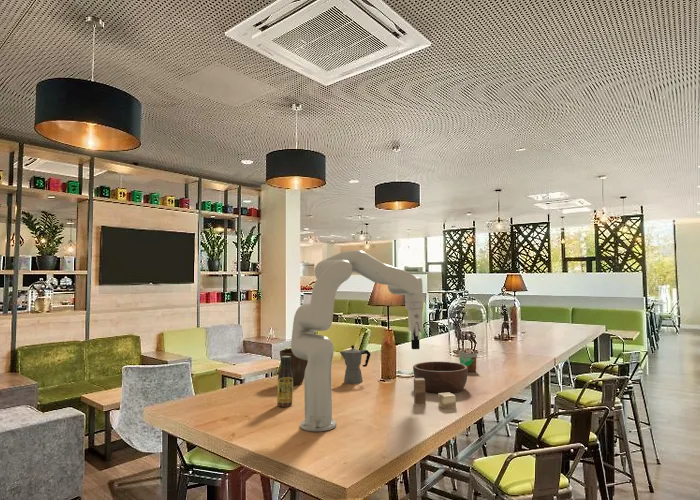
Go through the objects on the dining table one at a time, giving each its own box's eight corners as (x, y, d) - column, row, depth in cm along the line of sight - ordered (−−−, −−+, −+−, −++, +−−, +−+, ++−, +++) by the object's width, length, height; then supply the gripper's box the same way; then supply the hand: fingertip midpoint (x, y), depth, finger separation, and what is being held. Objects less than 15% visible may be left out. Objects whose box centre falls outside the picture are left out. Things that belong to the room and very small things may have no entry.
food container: (454, 369, 252) (453, 351, 253) (462, 368, 255) (462, 350, 256) (468, 373, 241) (468, 354, 242) (477, 372, 244) (477, 353, 244)
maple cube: (456, 408, 178) (455, 395, 178) (444, 409, 177) (444, 396, 177) (449, 404, 183) (449, 392, 183) (438, 406, 181) (438, 393, 182)
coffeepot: (339, 384, 222) (338, 346, 223) (340, 379, 231) (340, 344, 232) (370, 384, 221) (370, 346, 222) (371, 379, 230) (370, 343, 231)
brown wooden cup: (312, 380, 231) (312, 348, 232) (307, 387, 216) (306, 353, 217) (283, 380, 233) (283, 348, 234) (276, 387, 218) (276, 353, 219)
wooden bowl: (403, 386, 215) (402, 364, 216) (444, 380, 227) (444, 359, 227) (436, 398, 193) (435, 373, 194) (480, 390, 204) (479, 367, 205)
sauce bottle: (278, 408, 182) (277, 358, 183) (276, 404, 188) (276, 355, 189) (294, 406, 183) (293, 357, 185) (292, 402, 189) (291, 354, 191)
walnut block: (425, 405, 183) (425, 380, 183) (415, 405, 182) (415, 380, 183) (423, 402, 187) (423, 377, 187) (414, 402, 186) (413, 378, 187)
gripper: (426, 306, 188) (427, 351, 186) (419, 304, 202) (421, 346, 201) (408, 307, 187) (409, 352, 186) (403, 305, 202) (404, 346, 201)
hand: (415, 348), depth 194 cm, fingers closed
